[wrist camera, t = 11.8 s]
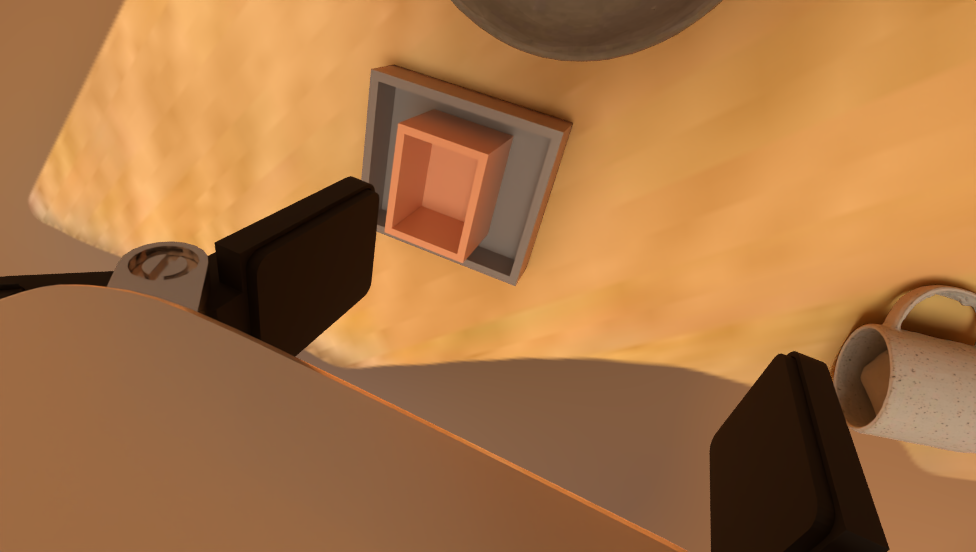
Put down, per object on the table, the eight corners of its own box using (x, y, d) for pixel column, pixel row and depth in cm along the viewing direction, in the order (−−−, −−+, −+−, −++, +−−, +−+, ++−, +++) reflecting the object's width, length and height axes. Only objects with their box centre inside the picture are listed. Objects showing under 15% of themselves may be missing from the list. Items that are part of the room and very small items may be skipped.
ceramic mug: (942, 409, 37) (998, 490, 31) (823, 382, 39) (851, 453, 33) (1020, 290, 32) (1107, 357, 26) (877, 268, 34) (924, 324, 28)
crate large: (394, 64, 39) (371, 68, 36) (572, 123, 36) (563, 132, 34) (377, 210, 46) (357, 223, 43) (526, 267, 44) (515, 286, 41)
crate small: (434, 109, 39) (398, 123, 34) (513, 136, 38) (488, 154, 33) (417, 207, 44) (384, 232, 39) (488, 234, 43) (462, 263, 38)
